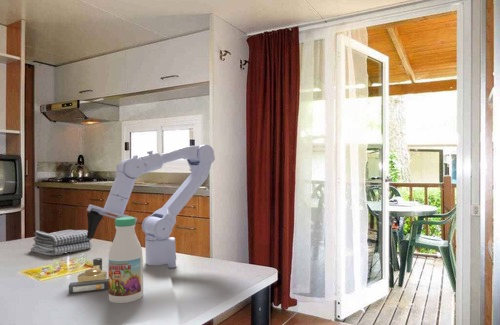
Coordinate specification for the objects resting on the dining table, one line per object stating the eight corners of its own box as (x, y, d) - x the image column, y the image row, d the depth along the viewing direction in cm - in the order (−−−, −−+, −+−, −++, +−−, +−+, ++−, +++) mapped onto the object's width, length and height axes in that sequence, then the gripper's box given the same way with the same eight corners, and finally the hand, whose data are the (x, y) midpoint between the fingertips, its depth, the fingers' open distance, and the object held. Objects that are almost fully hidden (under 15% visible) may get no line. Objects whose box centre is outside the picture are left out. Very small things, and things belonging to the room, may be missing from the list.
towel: (54, 258, 122) (53, 236, 122) (29, 251, 132) (29, 231, 132) (94, 249, 135) (93, 229, 135) (68, 243, 145) (68, 224, 145)
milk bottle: (114, 296, 85) (113, 215, 85) (146, 295, 86) (145, 215, 86) (104, 309, 78) (102, 221, 77) (139, 308, 78) (138, 220, 78)
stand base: (130, 274, 102) (130, 263, 102) (127, 294, 87) (127, 280, 87) (70, 280, 97) (70, 268, 97) (56, 302, 82) (56, 288, 82)
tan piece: (105, 286, 88) (105, 272, 88) (75, 289, 86) (75, 275, 86) (111, 269, 103) (110, 257, 103) (85, 271, 101) (85, 259, 101)
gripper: (90, 187, 99) (71, 234, 96) (136, 201, 97) (119, 248, 94) (101, 192, 106) (83, 235, 102) (145, 204, 104) (128, 249, 101)
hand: (101, 242), depth 99 cm, fingers open, 7 cm apart
